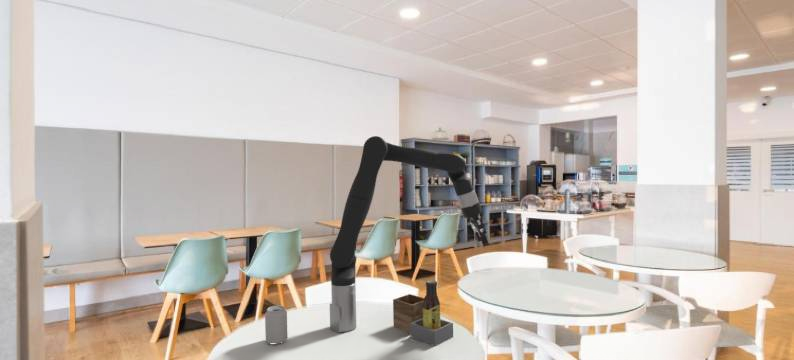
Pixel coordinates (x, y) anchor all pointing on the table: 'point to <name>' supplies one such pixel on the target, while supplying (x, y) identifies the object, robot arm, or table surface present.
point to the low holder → (432, 332)
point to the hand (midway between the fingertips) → (483, 242)
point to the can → (276, 324)
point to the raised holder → (407, 311)
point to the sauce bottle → (431, 306)
